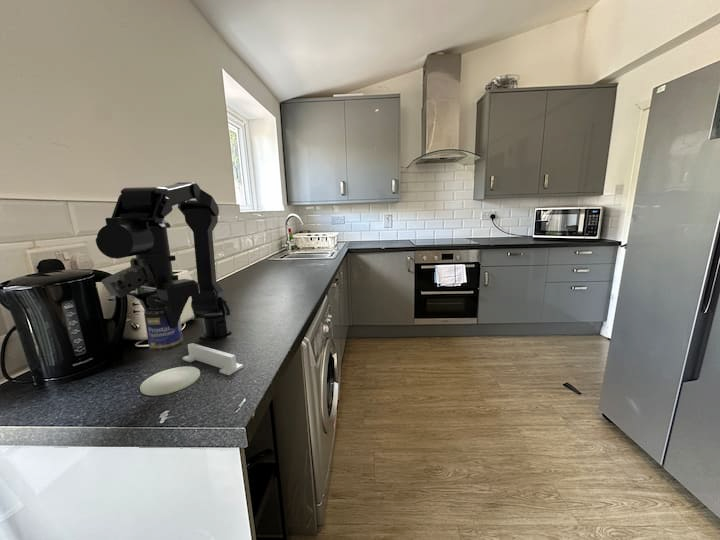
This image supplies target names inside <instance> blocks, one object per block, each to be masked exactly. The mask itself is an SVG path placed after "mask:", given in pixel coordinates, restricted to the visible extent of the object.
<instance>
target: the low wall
mask: <svg viewBox="0 0 720 540" xmlns="http://www.w3.org/2000/svg"><path fill="white" fill-rule="evenodd" d="M187 351H188V355H185V356H183V357H182V361H184V362H188V363H192V362H194V361H198V362H199V363H200V362H201V363H204V364H208V365H210V366H213V367H216V368H219V373H220V374H224V375H226V376H230V375H233V374H234V373H235V372H237V371H239V370H241V369H242V368H244V364H241V363H238V362H237V359H236V354H232V353H229V352H225V351H222V350H218V349H214V348H210V347H207V346H203V345H201V344H197V343H193V342H192V343H189V344H187Z"/></svg>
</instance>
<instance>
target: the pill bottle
mask: <svg viewBox="0 0 720 540" xmlns="http://www.w3.org/2000/svg"><path fill="white" fill-rule="evenodd" d="M158 298H159V296H158V295H157V294H156V295H151V296H148V297H147V298H146V302H147V304H148V305H149V308H147V309H146V310H144V312H143V315H144V321H145V329H146V334H147V335H146V336H147V342H148V343H147V344H148V347H149V348H148V349H149V350H150V351H151V352H156V353H161V352H167V351H170V350H174V349H176V348H178V347H180V346H181V345H183V342H184V337H183V329H182V321H181V318H180V319H179V322H178V324H177V327H176V328H173V329H170V327H169V325H168V322H167V318H166V315H165V312H164V308H163V306H162V305H161V304H159V303H158V302H156V301H155V300H154V299H158Z"/></svg>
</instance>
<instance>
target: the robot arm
mask: <svg viewBox="0 0 720 540" xmlns="http://www.w3.org/2000/svg"><path fill="white" fill-rule="evenodd" d="M173 206H177V209H178V210H179V211H180V212H181V213H182V215H183V216H184V222H185V223H186V225H187V226H188V227H189V228H190V230H191V232H193V233H192V234H193V235H192V237H193V246H194V247H193V248H194V258H195V268H196V280H197V281H196V280H195V279H189V278H188V279H187V278H181V279H179V275H178V274H174V271H173V265H172V262H173V261H176V260H177V259H176V255H175V254H174V255H173V254H171V251H170V243H169V237H168V230H167V229H170V228H171V224H170V223H169V222H168V221H167V220H165V218H166V217H167V216H168V215H169V214H171V212H172V211H173ZM219 215H220V209H219V206H218V203H217V202H216V200H215V198H214V197H213V196H212V195H210V193H208V192H207V191H204V190H203V189H201V187H200V186H199V184H198V183H196V182H195V183H194V182H193V181H192V182H191V181H190V182H181V181H180V182H176V183H174V184H170V185H166V186H162V187H161V186H147V187H145V186H144V187H142V186H141V187H138V186H137V187H124V188H122V189H121V190H120V194H119V196H118V198H117V201H116V204H115V206H114V209H113V212H112V215H111V217H105V223H106V225H103V227H101V228H100V229H99V231H97V235H96V238H95V244H96V246H97V249H98V250H99V252H101V253H102V254H103V255H105V256H106V257H108V258H110V259H115V260H117V259H124V258H129V257H132V258H131V259H130V261H129V263H130V266H129V267H127V268H124V269H122V270H119V271H117V272H115V273H114V274H111V275H109V276H107V277H105V278H103V279H102V280H100V282H101V283H102V285H103V286H104V288H105V289H106V291H107V292H108V293H109V295H110V296H116V297H117V298H123V297H126V296H128V297H130V298H133V299H135V300H137V301H139V303H140V305H141V307H142V308H143V309H144V311H145V310H146V309H147V308H149V305H148V304H147V302H146V298H147V297H148V296H151V295H156V294H157V295H158V296H159V298H158V299H154V300H155V301H156V302H158V303H159V304H161V305H162V306H163V308H164V312H165V315H166V318H167V322H168V325H169V327H170V329H173V328H176V327H177V324H178V322H179V319H180V320H181V317H182V314H183V312H184V309H185V307H186V304H187V303H188V300H189V298H190V297H191V303H190V307H191V311H192V313H193V316H194V318H195V319H196V320H198V319H202V327H203V333H202V334H200V335H199V338H202V339H205V340H209V341H215V340H219V339H221V338H223V337H226V336H228V335H231V334H232V331H231V330H228V327H227V320H226V317H227V316H230V315H232V314H231V313H232V312H231V310H232V309H231V304H230V303H229V301H228V300H227V298H226V296H225V294H224V290H223V288H222V287H221V285H220V284H219V283H218V281H217V275H216V274H217V273H216V263H215V250H214V249H215V248H214V247H215V245H214V237H213V236H214V235H213V232H214V230H215V227H216V226H217V225H218V223H219V222H218V218H219V217H218V216H219ZM134 256H135V257H134Z"/></svg>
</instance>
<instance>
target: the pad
mask: <svg viewBox="0 0 720 540" xmlns="http://www.w3.org/2000/svg"><path fill="white" fill-rule="evenodd" d="M200 376H201V370H200V369H199V368H198V367H194V366H190V365H189V366H188V365H187V366H185V365H184V366H177V367H173V368H169V369H165V370H162V371H159V372H157V373H155V374H152V375H151V376H149V377H148V378H146V379H144V381H143V382H142V383H141V384H140V387H139V390H140V393H141V394H143V395H146V396H149V397H150V396H152V397H157V396H164V395H169V394H172V393H176V392H179V391H181V390H184V389H185V388H187V387H190V386H191V385H192V384H194V383H196V381H198V380H199V378H200Z"/></svg>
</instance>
